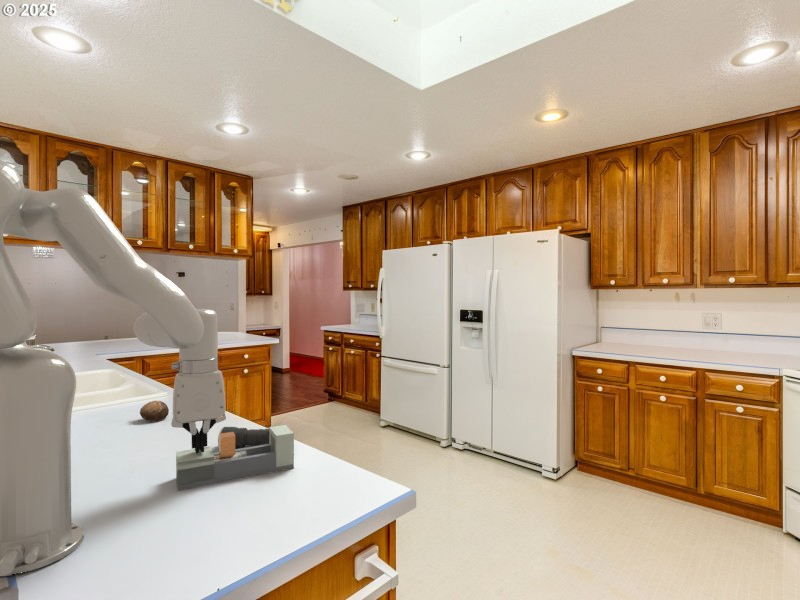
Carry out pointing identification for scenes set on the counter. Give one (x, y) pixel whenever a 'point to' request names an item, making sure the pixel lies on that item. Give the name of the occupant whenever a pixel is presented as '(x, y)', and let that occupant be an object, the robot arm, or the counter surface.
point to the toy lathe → (236, 461)
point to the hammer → (228, 447)
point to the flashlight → (247, 436)
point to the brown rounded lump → (154, 411)
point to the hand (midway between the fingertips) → (199, 450)
